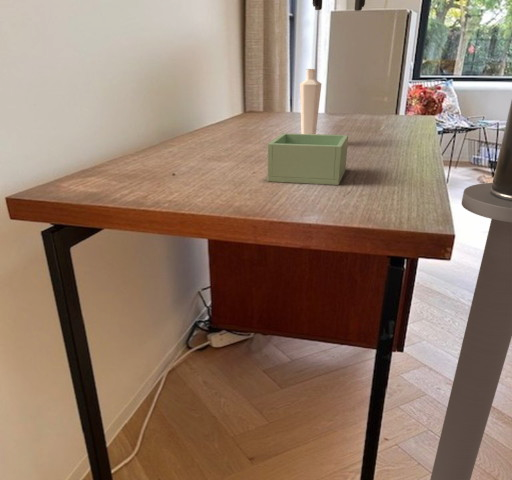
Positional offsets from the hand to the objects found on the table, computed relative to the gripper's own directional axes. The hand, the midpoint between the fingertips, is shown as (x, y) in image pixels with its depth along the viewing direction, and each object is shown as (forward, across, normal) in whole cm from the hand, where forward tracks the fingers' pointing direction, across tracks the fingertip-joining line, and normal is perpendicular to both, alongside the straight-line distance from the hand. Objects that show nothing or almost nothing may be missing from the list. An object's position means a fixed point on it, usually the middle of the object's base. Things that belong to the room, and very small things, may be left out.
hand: (338, 10), depth 101 cm
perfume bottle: (+26, -5, 0) cm, 26 cm away
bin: (+25, -15, -30) cm, 42 cm away
